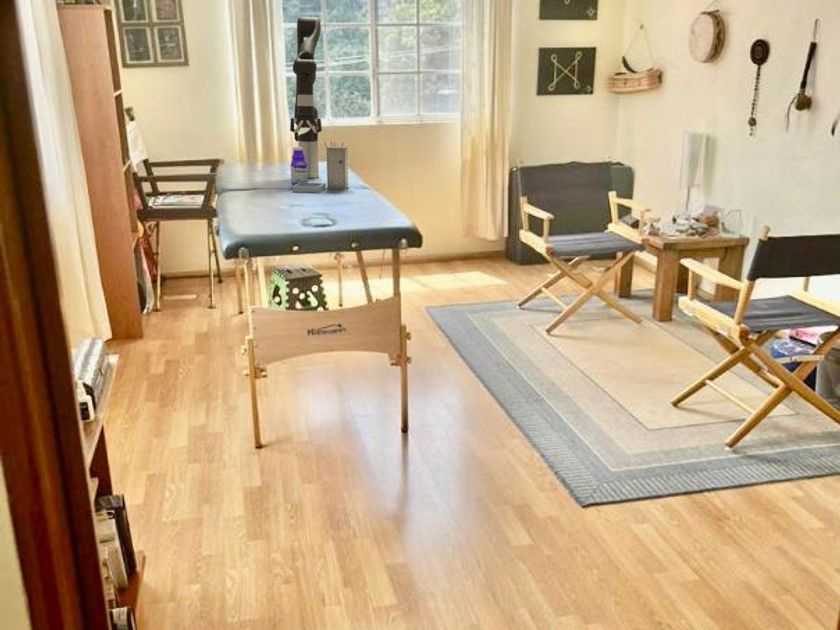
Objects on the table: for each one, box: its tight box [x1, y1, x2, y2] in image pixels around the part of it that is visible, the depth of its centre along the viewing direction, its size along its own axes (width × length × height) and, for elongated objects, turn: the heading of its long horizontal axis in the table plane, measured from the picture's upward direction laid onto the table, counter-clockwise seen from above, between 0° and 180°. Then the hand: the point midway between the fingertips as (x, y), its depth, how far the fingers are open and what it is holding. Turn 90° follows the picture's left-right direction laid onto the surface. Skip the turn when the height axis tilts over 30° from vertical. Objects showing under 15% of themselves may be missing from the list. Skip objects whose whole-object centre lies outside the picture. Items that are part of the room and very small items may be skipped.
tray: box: [291, 182, 327, 193], centre depth 351 cm, size 12×12×2 cm
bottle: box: [290, 146, 309, 187], centre depth 359 cm, size 7×6×17 cm
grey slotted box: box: [326, 145, 349, 190], centre depth 355 cm, size 7×8×18 cm
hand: (306, 141), depth 372 cm, fingers open, 8 cm apart
